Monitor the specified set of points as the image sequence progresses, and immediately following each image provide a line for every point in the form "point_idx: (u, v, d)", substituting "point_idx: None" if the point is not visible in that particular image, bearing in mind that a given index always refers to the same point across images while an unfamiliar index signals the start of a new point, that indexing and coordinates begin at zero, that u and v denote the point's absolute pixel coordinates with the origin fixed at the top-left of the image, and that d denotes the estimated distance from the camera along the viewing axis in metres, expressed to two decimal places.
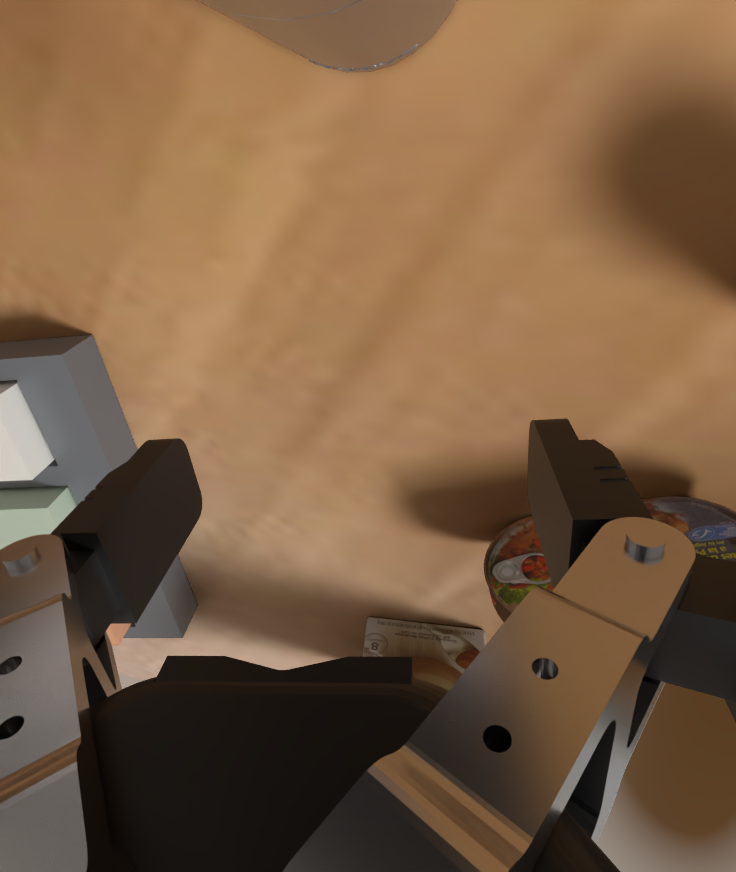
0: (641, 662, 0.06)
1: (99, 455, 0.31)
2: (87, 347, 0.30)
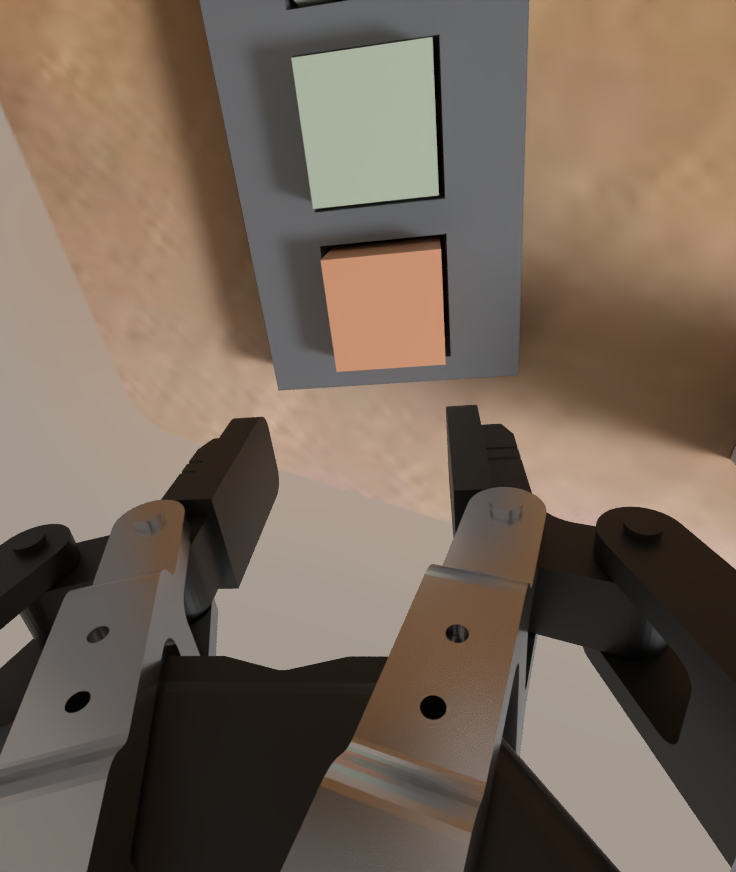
0: (527, 608, 0.07)
1: None
2: None
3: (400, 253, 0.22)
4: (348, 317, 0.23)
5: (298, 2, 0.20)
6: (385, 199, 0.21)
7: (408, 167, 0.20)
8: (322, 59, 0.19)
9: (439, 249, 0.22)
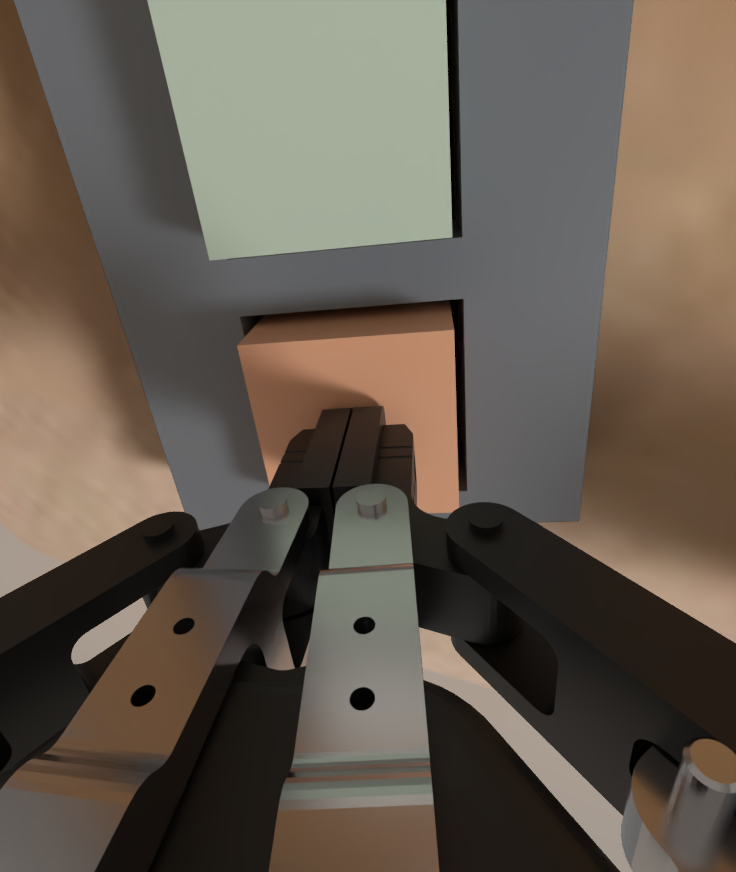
0: None
1: None
2: None
3: (379, 336, 0.12)
4: (291, 436, 0.13)
5: None
6: (347, 244, 0.11)
7: (392, 182, 0.10)
8: None
9: (451, 330, 0.12)
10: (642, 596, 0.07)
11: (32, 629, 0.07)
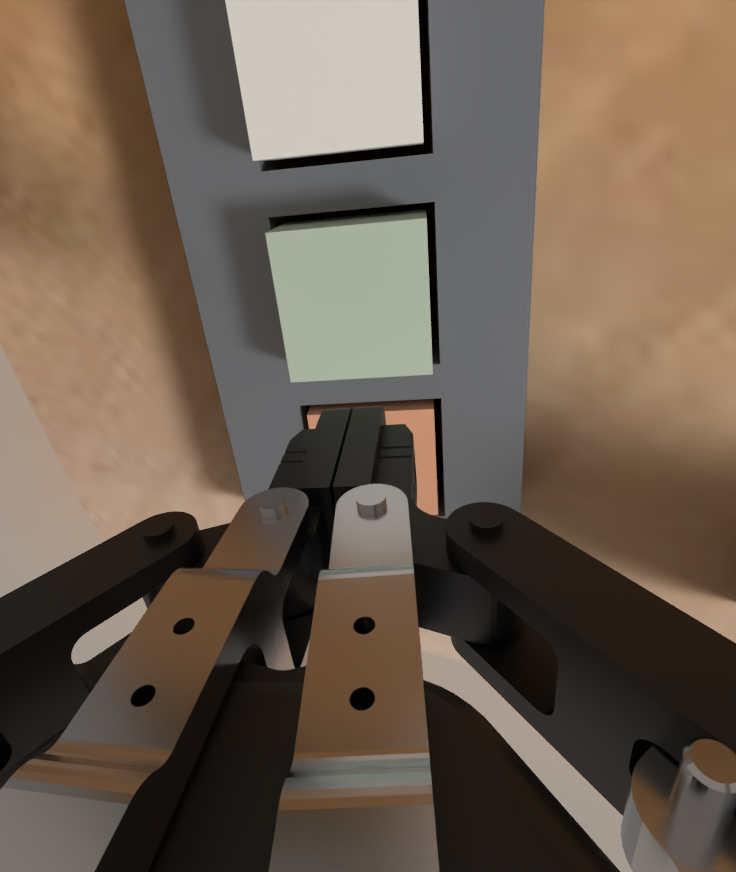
0: None
1: (528, 121, 0.16)
2: None
3: (391, 411, 0.21)
4: None
5: None
6: (372, 376, 0.18)
7: (399, 345, 0.18)
8: (300, 235, 0.16)
9: (432, 409, 0.21)
10: (643, 596, 0.07)
11: (32, 629, 0.07)
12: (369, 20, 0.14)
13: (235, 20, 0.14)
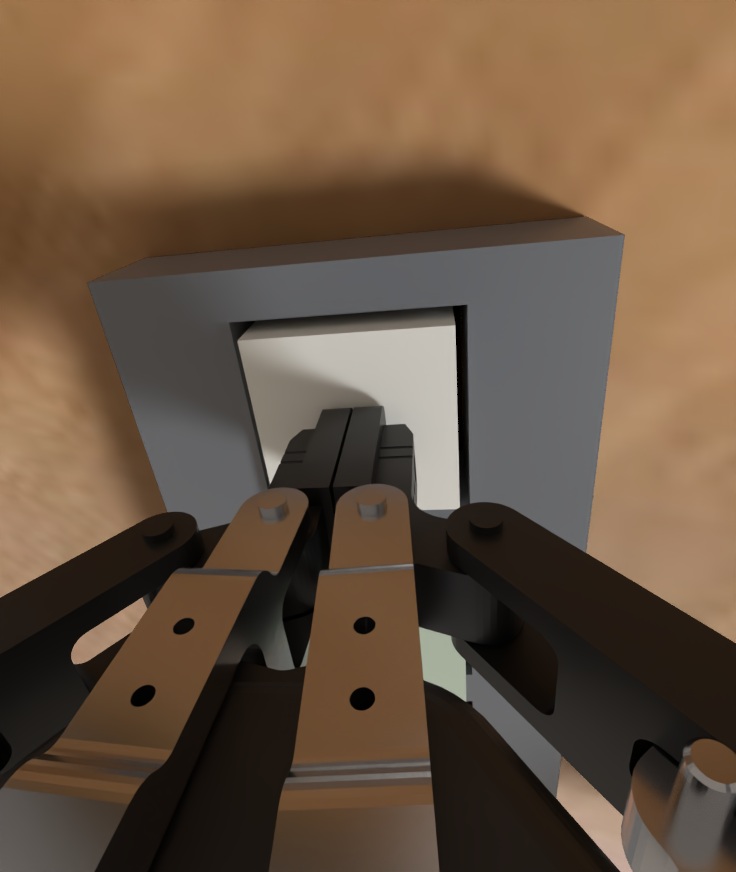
0: None
1: (581, 485, 0.14)
2: None
3: None
4: None
5: None
6: None
7: None
8: None
9: None
10: (643, 596, 0.07)
11: (32, 629, 0.07)
12: (404, 413, 0.13)
13: (259, 406, 0.13)
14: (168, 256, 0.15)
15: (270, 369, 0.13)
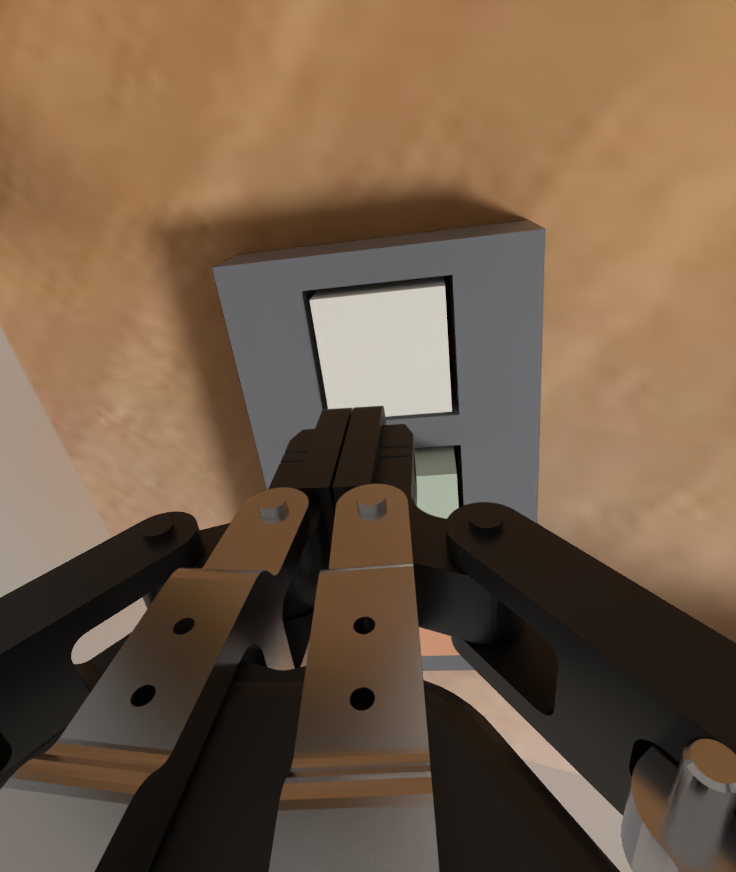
0: None
1: (532, 396, 0.21)
2: None
3: None
4: None
5: None
6: None
7: None
8: None
9: None
10: (643, 596, 0.07)
11: (32, 629, 0.07)
12: (414, 344, 0.20)
13: (321, 343, 0.20)
14: (252, 253, 0.22)
15: (329, 318, 0.20)
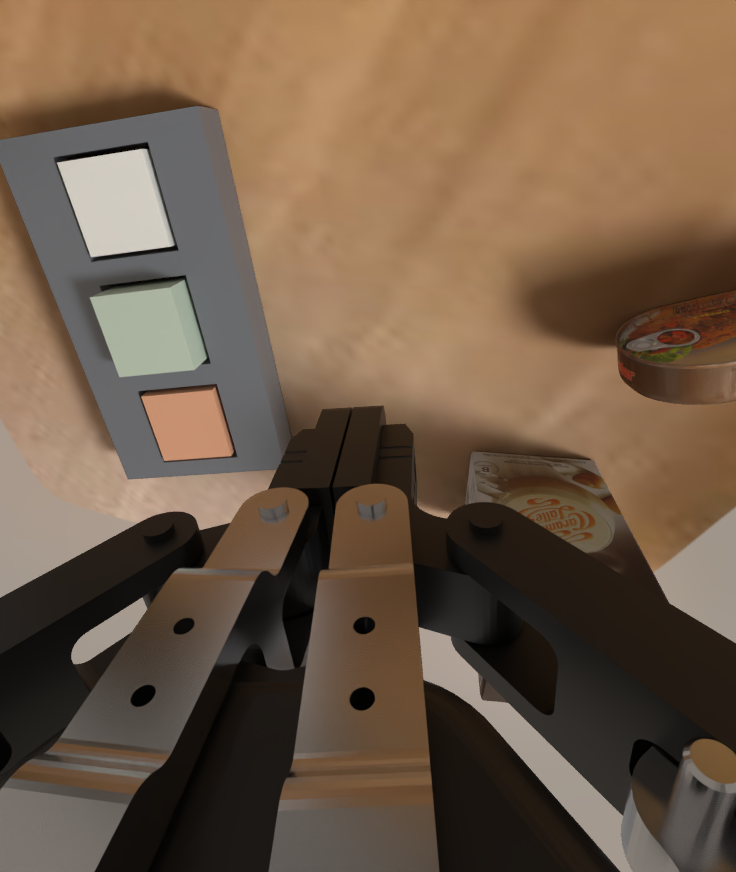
0: None
1: (223, 233, 0.30)
2: (214, 117, 0.29)
3: (188, 392, 0.35)
4: (164, 428, 0.36)
5: None
6: (162, 372, 0.33)
7: (172, 354, 0.32)
8: (108, 298, 0.31)
9: (211, 390, 0.35)
10: (643, 596, 0.07)
11: (32, 629, 0.07)
12: (133, 194, 0.29)
13: (72, 196, 0.30)
14: None
15: (73, 176, 0.29)
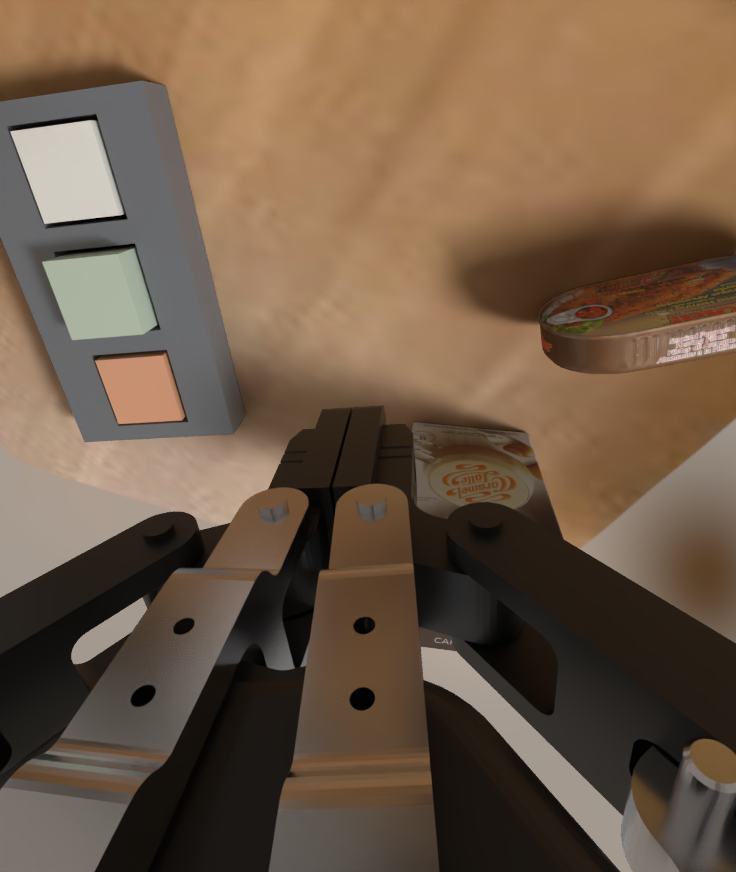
0: None
1: (169, 204, 0.32)
2: (161, 93, 0.31)
3: (140, 357, 0.37)
4: (118, 392, 0.38)
5: None
6: (113, 335, 0.35)
7: (122, 319, 0.34)
8: (59, 263, 0.33)
9: (161, 355, 0.37)
10: (642, 596, 0.06)
11: (32, 630, 0.07)
12: (83, 164, 0.31)
13: (25, 164, 0.31)
14: None
15: (25, 145, 0.31)
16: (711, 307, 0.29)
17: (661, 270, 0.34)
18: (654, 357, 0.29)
